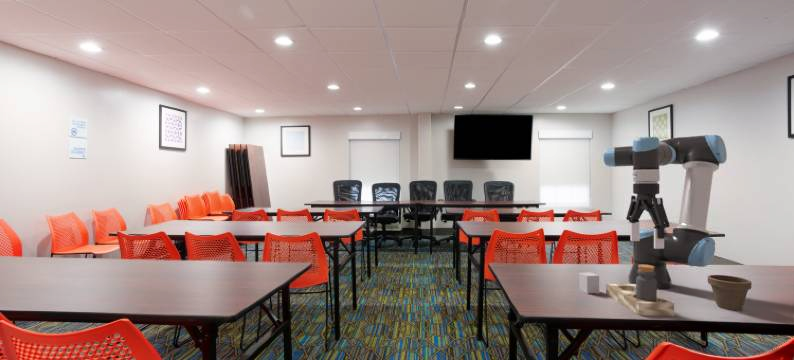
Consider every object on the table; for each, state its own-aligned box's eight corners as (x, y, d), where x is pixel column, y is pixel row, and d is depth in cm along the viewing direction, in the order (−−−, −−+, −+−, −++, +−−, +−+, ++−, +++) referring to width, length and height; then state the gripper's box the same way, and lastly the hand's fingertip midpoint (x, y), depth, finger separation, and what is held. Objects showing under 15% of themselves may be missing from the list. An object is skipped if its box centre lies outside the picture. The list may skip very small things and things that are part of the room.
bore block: (635, 294, 143) (635, 284, 143) (674, 315, 121) (674, 303, 121) (606, 294, 144) (605, 283, 144) (639, 315, 122) (639, 303, 122)
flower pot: (714, 299, 137) (714, 272, 136) (756, 308, 127) (756, 279, 127) (702, 305, 130) (702, 277, 130) (745, 315, 121) (745, 285, 121)
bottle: (653, 307, 129) (653, 264, 129) (659, 313, 124) (659, 268, 123) (634, 305, 131) (633, 263, 131) (638, 311, 125) (638, 267, 125)
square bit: (591, 289, 150) (591, 272, 150) (599, 293, 145) (599, 275, 145) (579, 290, 150) (579, 272, 150) (587, 293, 145) (587, 276, 145)
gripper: (615, 182, 139) (616, 238, 140) (657, 183, 115) (658, 251, 115) (636, 181, 139) (636, 238, 139) (683, 183, 114) (683, 251, 114)
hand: (646, 244), depth 127 cm, fingers open, 13 cm apart
